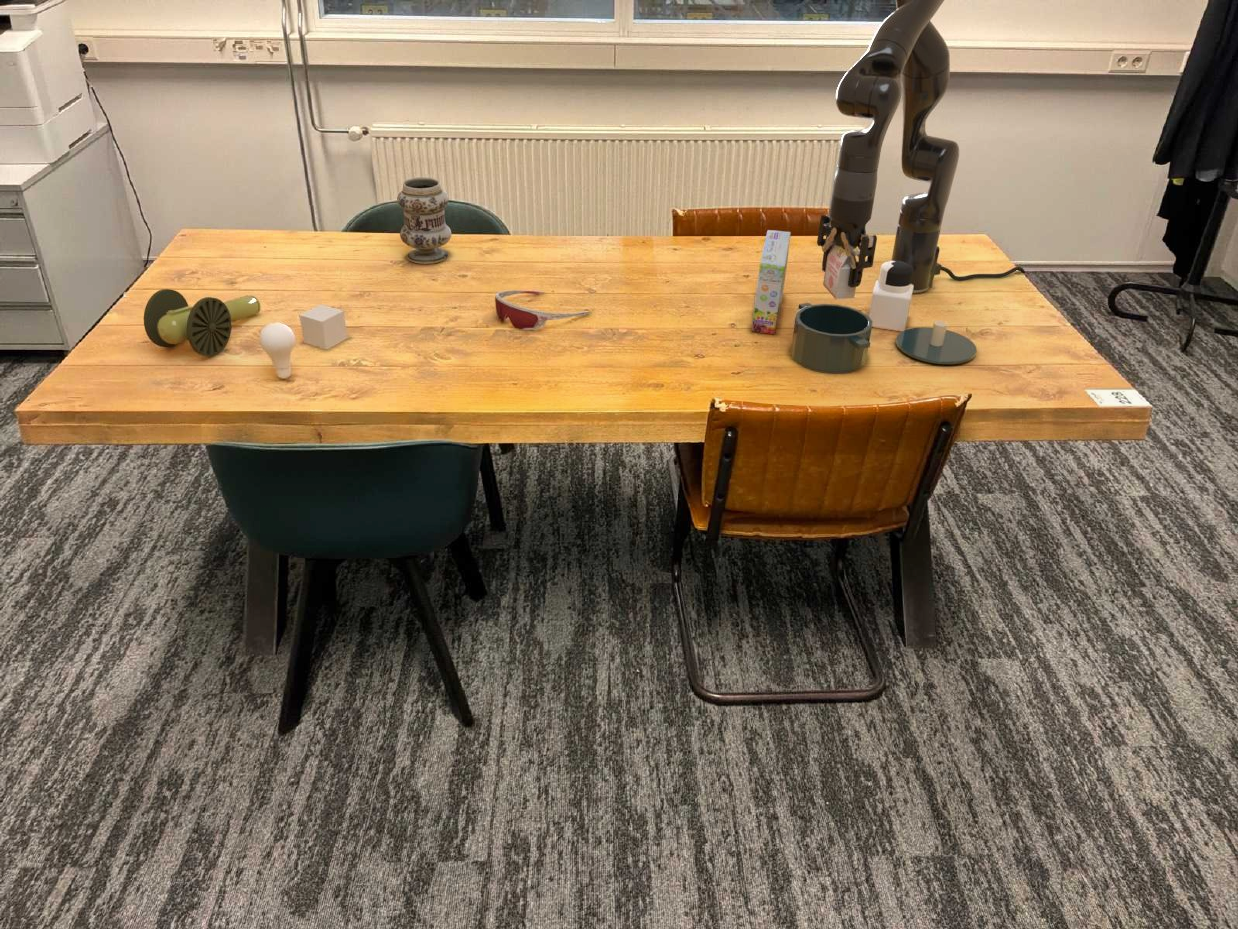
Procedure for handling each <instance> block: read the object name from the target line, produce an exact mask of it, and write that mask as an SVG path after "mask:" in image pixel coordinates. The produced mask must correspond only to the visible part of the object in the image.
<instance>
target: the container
mask: <svg viewBox="0 0 1238 929" xmlns="http://www.w3.org/2000/svg"><path fill="white" fill-rule="evenodd" d="M913 271H914V269H913V267H912V266H911V265H909V264H907V263H905V262H902V261H891V260H889V261H885V262H883V263H882V264H881V266H880V270H879V275H878V279H876V281H875V283H874V287H873V290H872V294H871V300H870V305H869V311H868V316H869V317H870V319H871V320H872V328H874V329H881V330H888V331H895V332H899V333H901V332H902V331H904V330H906V327H907V322H908V317H909V312H910V306H911V302H912V298H913V293H912V292H913V287H914V286H913V285H911V281H912V276H913Z"/></svg>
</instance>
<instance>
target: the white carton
mask: <svg viewBox="0 0 1238 929" xmlns="http://www.w3.org/2000/svg"><path fill="white" fill-rule="evenodd" d="M851 248H852V250H853V251H855V249H854V247H853V246H852V247H851ZM850 268H852V267H851V263H850V258H849V257H848V256H847V255H846V251H845V250H844V249H843V248H842V247H841V246H837V245H833V247H832V249H831V250H830V252H829V254H828V255H827V262H826V269H825V272H824V276H823V281H822V285H823V287H824V288H825V289H826V290H827V291H828V293H829V294H830V295H831V296H832V297H833V298H834V299H835V300H846V299H855V296H856V289H857V287H853V288H851V287H849V286H848V281H849V274H850Z"/></svg>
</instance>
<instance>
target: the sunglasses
mask: <svg viewBox="0 0 1238 929" xmlns="http://www.w3.org/2000/svg"><path fill="white" fill-rule="evenodd" d="M519 294H529V295H541V294H542V291H539V290H531V289H530V290H528V289H527V290H526V289H522V290H518V289H517V290H516V289H515V290H503V291H499V292H496V293H495V297H494V302H495V313H496V318H497V319H498V320H499V321H500V322H502V323H503V322H504V323H505V321H506V319H508V320H509V322H510V323H511V325H512V326H513V328H514V329H517V330H522V331H535V330H539V329H540V328H542V327H544V326H546V324H547V322H548V321H554V320H555V321H557V320H563V319H569V318H572V317H580V316H587V315H588V313H589V310H584V311H578V312H570V313H568V312H567V313H563V312H562V313H561V312H557V313H556V312H547V311H542V310H537V309H532V308H527V307H524V306H519V305H517V304H514V303H511V302H509V301H507V300H505V299H504V298H506V297H509V296H512V295H519Z"/></svg>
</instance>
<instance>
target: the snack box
mask: <svg viewBox="0 0 1238 929" xmlns="http://www.w3.org/2000/svg"><path fill="white" fill-rule="evenodd" d="M791 234H792V233H791V231H782V230H774V229H773V230H772V229H767V231H766V235H765V239H764V244H763V248H762V252H761V257H760V263H759V270H758V277H757V284H756V291H755V296H754V297H755V298H754V299H755V300H754V306H753V316H752V324H751V330H750V331H751V332H755V333H762V334H769V335H775V334H776V330H777V326H778V322H779V317H780V311H781V306H782V303H783V302H782V301H783V295H784V290H785V283H786V274H787V267H788V259H789V252H790V242H791Z"/></svg>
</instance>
